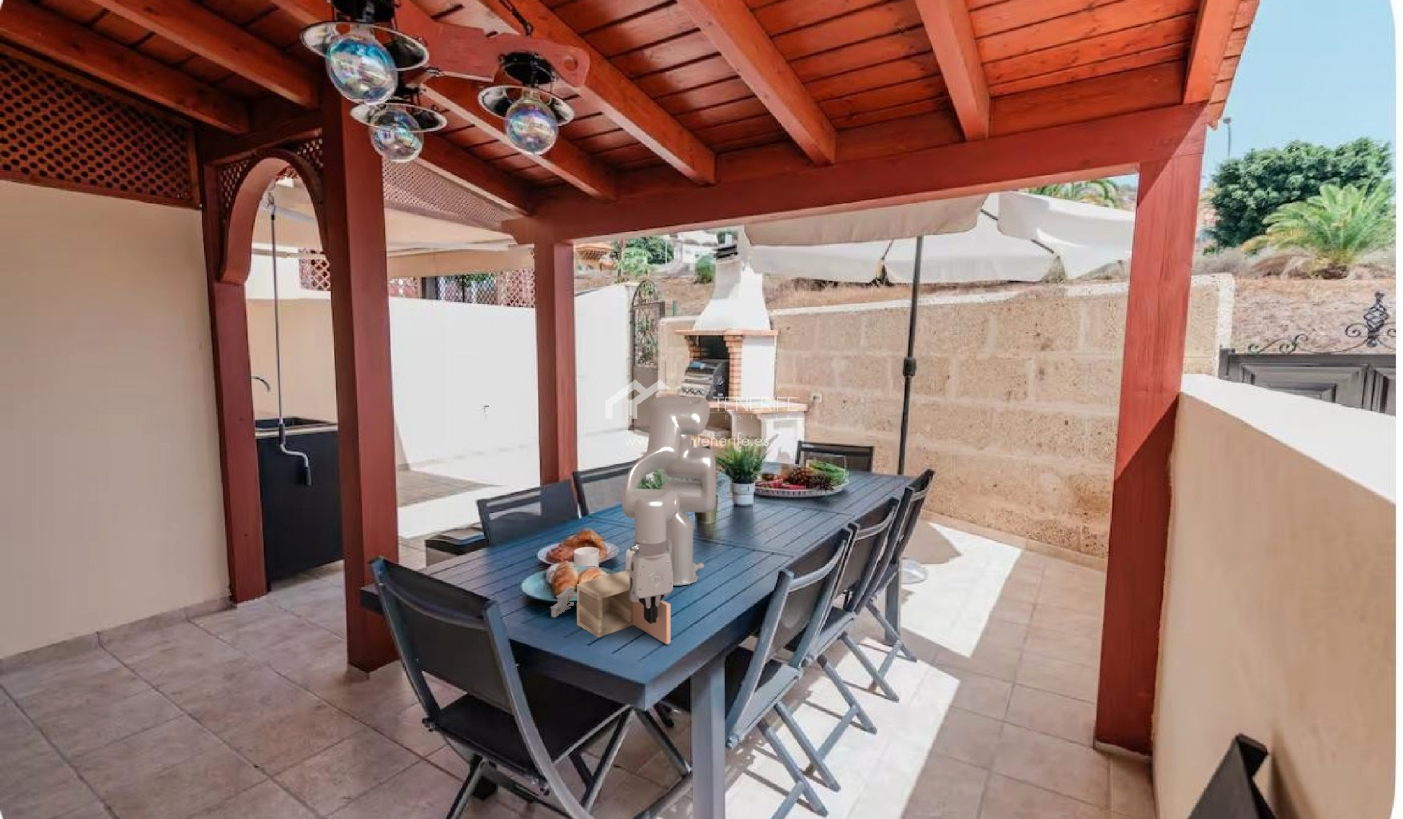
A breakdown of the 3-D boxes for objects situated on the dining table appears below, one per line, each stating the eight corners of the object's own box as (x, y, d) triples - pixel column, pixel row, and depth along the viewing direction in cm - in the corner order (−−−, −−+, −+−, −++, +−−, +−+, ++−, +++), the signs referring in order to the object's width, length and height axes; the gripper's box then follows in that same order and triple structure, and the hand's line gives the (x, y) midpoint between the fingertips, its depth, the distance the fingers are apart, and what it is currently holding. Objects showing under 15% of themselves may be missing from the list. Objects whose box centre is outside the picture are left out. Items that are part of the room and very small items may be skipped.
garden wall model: (555, 618, 169) (555, 597, 168) (549, 617, 169) (549, 596, 169) (579, 602, 180) (579, 582, 179) (574, 601, 181) (574, 581, 180)
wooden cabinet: (638, 604, 178) (637, 566, 177) (663, 616, 170) (663, 577, 169) (577, 625, 165) (576, 584, 164) (601, 639, 156) (601, 596, 155)
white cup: (601, 577, 200) (600, 546, 199) (597, 586, 192) (597, 554, 191) (576, 577, 200) (575, 547, 199) (571, 586, 192) (571, 555, 191)
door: (632, 624, 164) (632, 587, 163) (640, 621, 165) (639, 585, 165) (666, 644, 152) (666, 605, 152) (674, 641, 154) (674, 602, 153)
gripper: (628, 556, 144) (628, 634, 145) (685, 547, 151) (685, 620, 153) (615, 548, 150) (616, 622, 152) (670, 539, 158) (670, 610, 159)
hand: (650, 621), depth 152 cm, fingers closed
